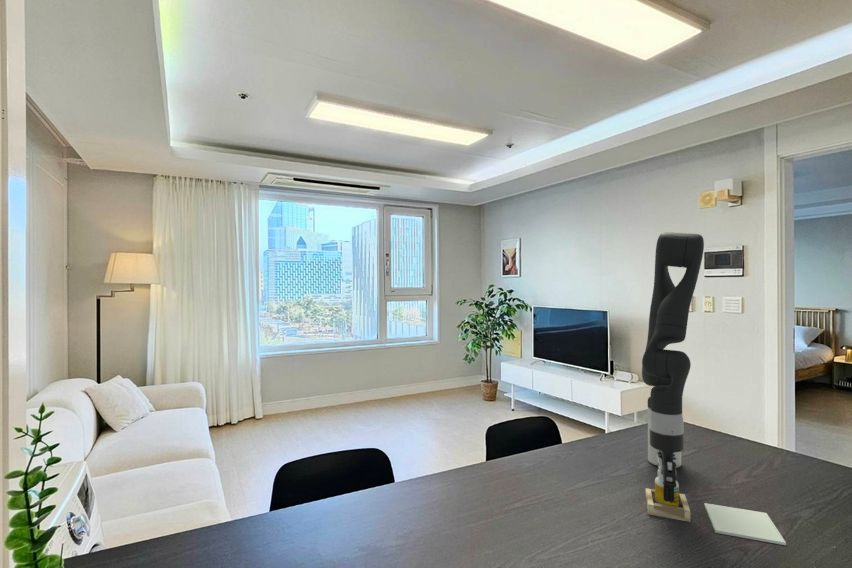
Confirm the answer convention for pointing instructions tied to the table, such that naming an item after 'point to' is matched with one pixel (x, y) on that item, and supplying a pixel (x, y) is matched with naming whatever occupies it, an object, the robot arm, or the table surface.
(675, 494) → the supplement bottle
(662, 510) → the collar
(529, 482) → the table surface
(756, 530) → the coaster plate
